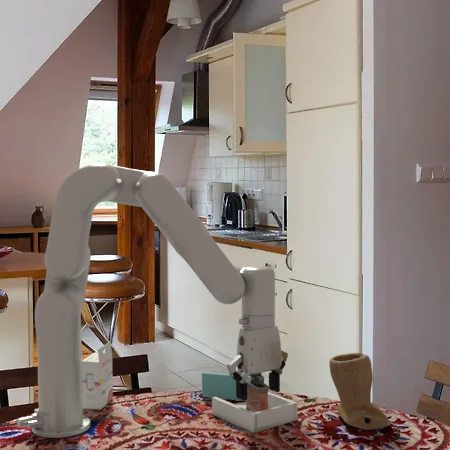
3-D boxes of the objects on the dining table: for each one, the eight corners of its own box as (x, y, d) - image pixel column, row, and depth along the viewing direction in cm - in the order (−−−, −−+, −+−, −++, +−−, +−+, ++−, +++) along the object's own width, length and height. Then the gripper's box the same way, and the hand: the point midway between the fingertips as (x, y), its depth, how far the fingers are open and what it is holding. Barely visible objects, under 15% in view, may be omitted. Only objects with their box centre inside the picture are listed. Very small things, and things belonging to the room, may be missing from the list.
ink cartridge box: (94, 397, 174) (93, 340, 173) (113, 398, 173) (112, 340, 172) (81, 408, 166) (79, 348, 165) (100, 410, 165) (99, 349, 164)
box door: (202, 396, 173) (202, 373, 173) (203, 395, 174) (203, 372, 174) (252, 401, 170) (252, 377, 169) (253, 400, 170) (253, 376, 170)
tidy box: (253, 433, 150) (253, 414, 149) (212, 414, 162) (212, 397, 161) (297, 419, 158) (297, 402, 157) (254, 402, 169) (254, 386, 169)
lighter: (272, 419, 155) (271, 376, 154) (259, 422, 154) (258, 378, 153) (255, 408, 163) (254, 367, 162) (242, 411, 161) (241, 369, 160)
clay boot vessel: (325, 409, 165) (325, 347, 164) (374, 409, 165) (375, 347, 164) (336, 433, 150) (337, 365, 148) (391, 432, 150) (392, 364, 149)
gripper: (238, 329, 148) (239, 407, 150) (297, 318, 159) (297, 391, 160) (217, 323, 154) (218, 398, 156) (275, 313, 165) (275, 384, 166)
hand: (258, 394), depth 158 cm, fingers open, 9 cm apart
